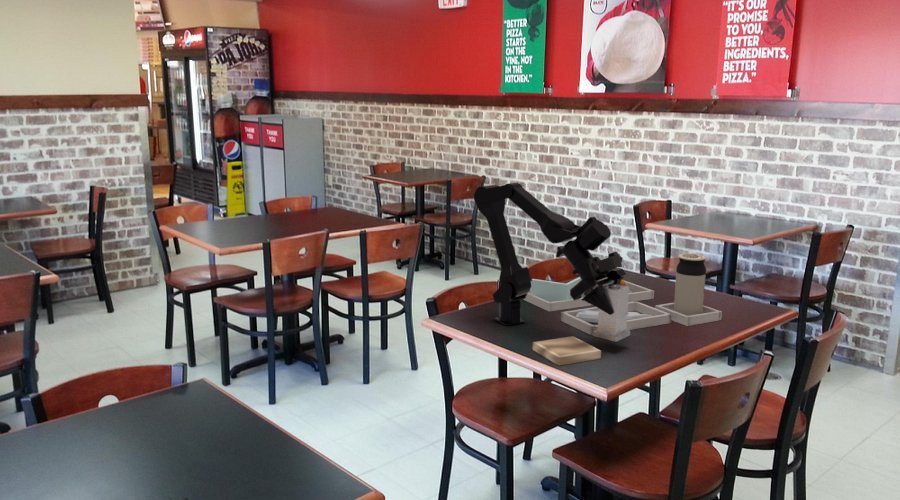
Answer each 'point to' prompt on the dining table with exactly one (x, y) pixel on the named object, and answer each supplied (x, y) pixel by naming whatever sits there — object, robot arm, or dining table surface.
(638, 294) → the tray
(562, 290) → the right angle wall
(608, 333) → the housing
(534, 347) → the stand
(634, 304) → the casing tray rim
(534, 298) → the coaster tray rim
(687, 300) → the travel mug
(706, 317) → the mug tray rim
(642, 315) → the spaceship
